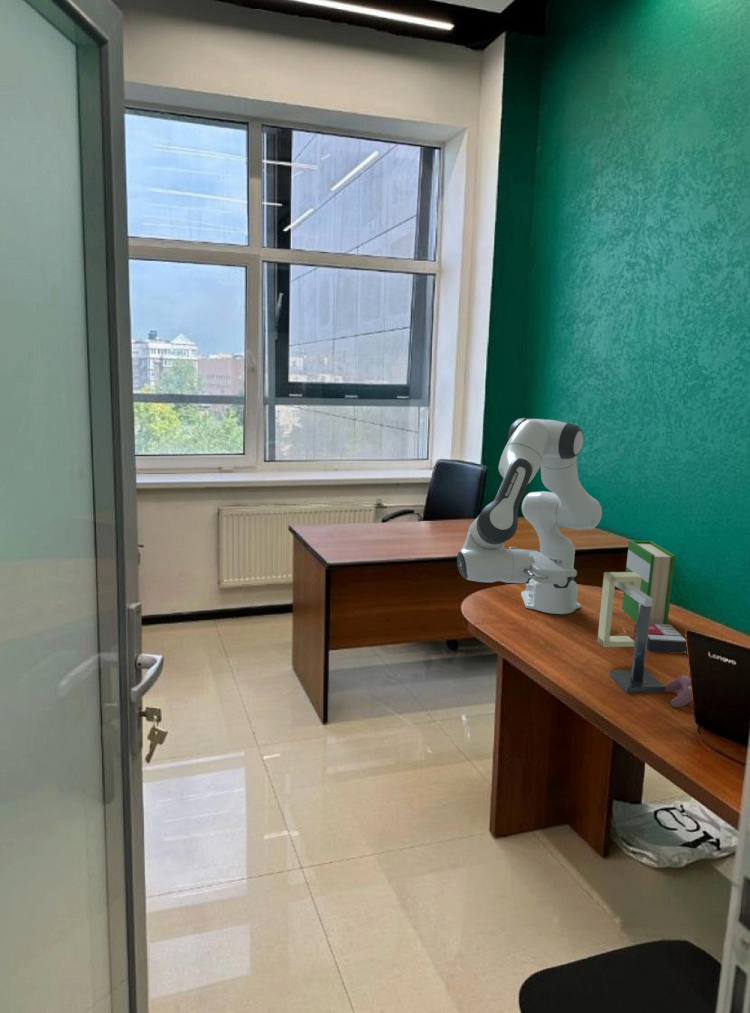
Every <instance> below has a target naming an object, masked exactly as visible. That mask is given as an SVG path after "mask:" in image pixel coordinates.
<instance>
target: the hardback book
mask: <svg viewBox="0 0 750 1013" xmlns="http://www.w3.org/2000/svg"><path fill="white" fill-rule="evenodd" d="M675 561H676V555H675V554H673V553H672V552H671V551H669V550H667V549H665V548H663V547H662V546H660V545H659V544H657V543H656V542H654V541H652V540H628V548H627V558H626V565H625V566H626V567H625V568H626V569H625V572H635V573H637V574H638V575H640V576H642V578H641V587H640V591H642V592H643V593H645V594H646V595H648V596H649V597H651V598H652V599H653V601H652V606H651V614H650V624H653V625H655V624H668V621H669V612H670V606H671V605H670V604H671V596H672V587H673V579H674V572H675V563H676V562H675ZM638 606H639V602H637V601H636V600H634V599H633V598H632V597H630V596H629V595H627V594H626V593H625V592H623V596H622V605H621V610H622V609H623V610H624V611H625V612H626V613H627V614H628V615H629V616H630V617H631V618H630V617H629V618H630V619H632V620H633V621H634V622H635V624H637V616H638ZM623 610H622V611H623ZM624 611H623V612H624ZM625 612H624V613H625ZM626 613H625V614H626ZM627 614H626V615H627ZM628 615H627V616H628Z"/></svg>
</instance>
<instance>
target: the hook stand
mask: <svg viewBox="0 0 750 1013" xmlns="http://www.w3.org/2000/svg"><path fill="white" fill-rule="evenodd" d="M615 588H618V590H620V591H621V592H623V593H624V592H625V593H626V594H627V595H629V596H630V597H632V598H633V599H634V600H636V601H637V602H639V606H638V616H637V623H636V624H637V625H636V634H635V633H634V634H635V635H634V636H635V637H634V641H635V643H634V647H633V654H632V662H631V669H611V670H609V675H610V676H609V677H610V678H611V679H612V680H613V681H614V682H615V683H616V684H617V685H618V686H619V687H620V688H621V689H622V691H624V692H625V693H626V694H643V693H646V694H647V693H648V694H649V693H652V694H653V693H665V692H666V691H665V685H664V684H663V683H662V682H661V681H660V680H658V679H657V677H655V676H654V675H653V674H652V673H651V672H650V671H649V670H647V669H645V666H646V657H647V651H648V650H647V641H648V632H649V623H650V614H651V606H652V601H653V599H652V598H651V597H649V596H648V595H646V594H645V593H643V592H642V591H640V590H639V589H637V588H636V587H634V586H633V585H631V584H630V583H628V582H615Z"/></svg>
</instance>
